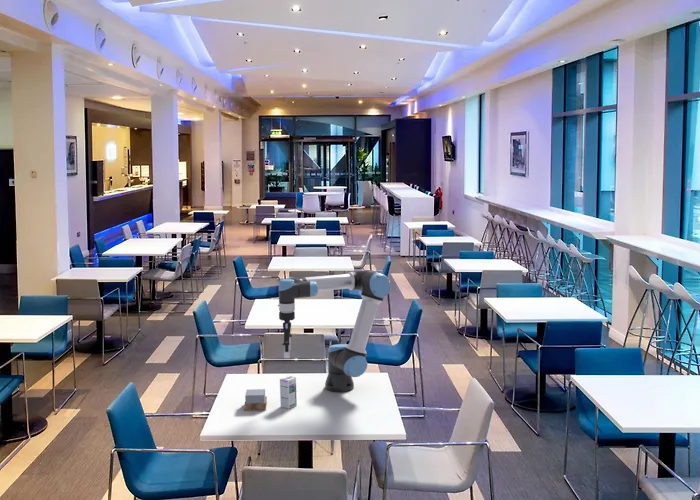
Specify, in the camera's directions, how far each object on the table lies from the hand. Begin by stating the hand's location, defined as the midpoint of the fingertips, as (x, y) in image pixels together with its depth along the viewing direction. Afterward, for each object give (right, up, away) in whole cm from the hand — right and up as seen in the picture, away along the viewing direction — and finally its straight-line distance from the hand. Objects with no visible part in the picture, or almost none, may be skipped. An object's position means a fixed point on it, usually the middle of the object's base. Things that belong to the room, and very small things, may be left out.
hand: (287, 354), depth 363 cm
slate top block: (-16, -23, +2) cm, 28 cm away
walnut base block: (-16, -27, +3) cm, 31 cm away
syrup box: (0, -26, +4) cm, 26 cm away
